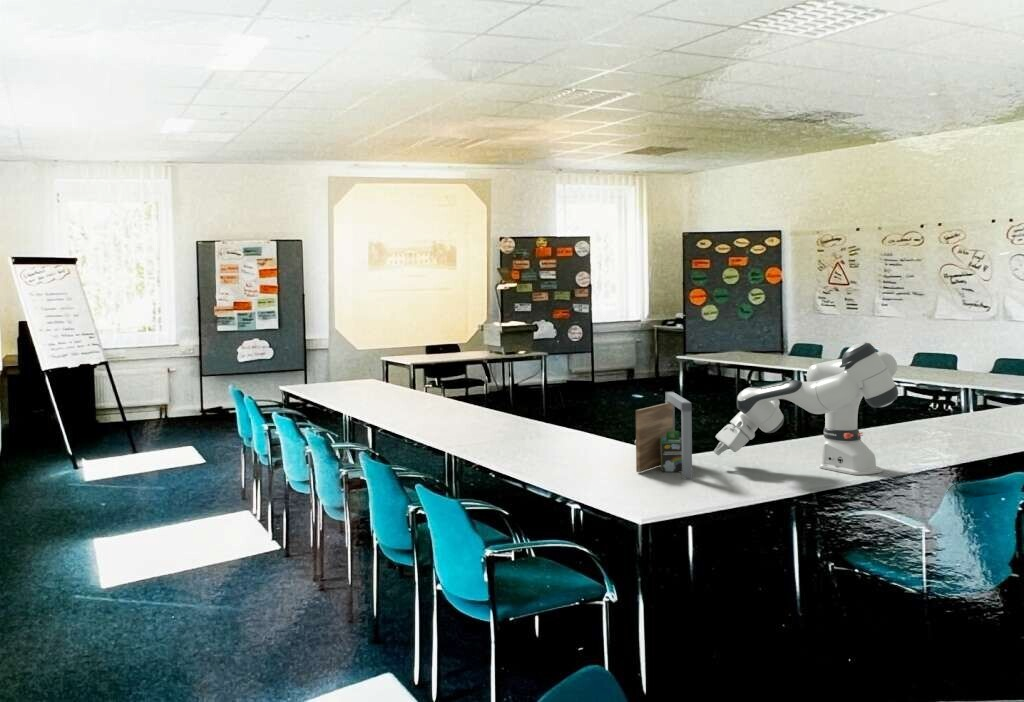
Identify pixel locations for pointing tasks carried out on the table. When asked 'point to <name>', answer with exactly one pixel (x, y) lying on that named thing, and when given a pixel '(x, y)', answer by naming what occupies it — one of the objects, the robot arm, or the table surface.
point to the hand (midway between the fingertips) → (715, 453)
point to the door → (651, 434)
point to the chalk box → (671, 452)
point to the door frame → (683, 429)
